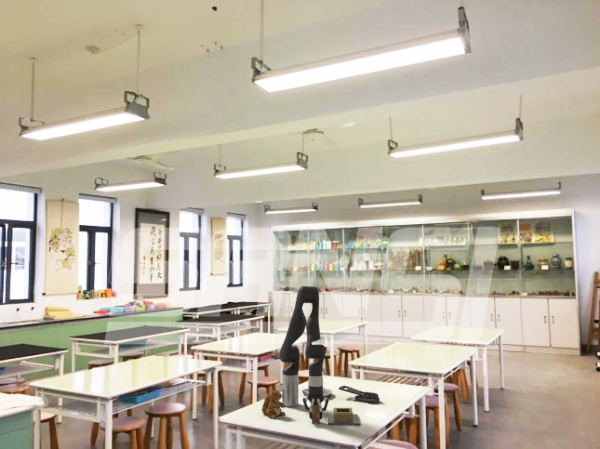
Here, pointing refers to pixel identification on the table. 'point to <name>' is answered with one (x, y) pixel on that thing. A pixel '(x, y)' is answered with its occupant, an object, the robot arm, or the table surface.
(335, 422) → the well stand
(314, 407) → the walnut bar
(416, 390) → the table surface
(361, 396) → the zipper pull
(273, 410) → the stuffed squirrel
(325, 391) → the brain slice
